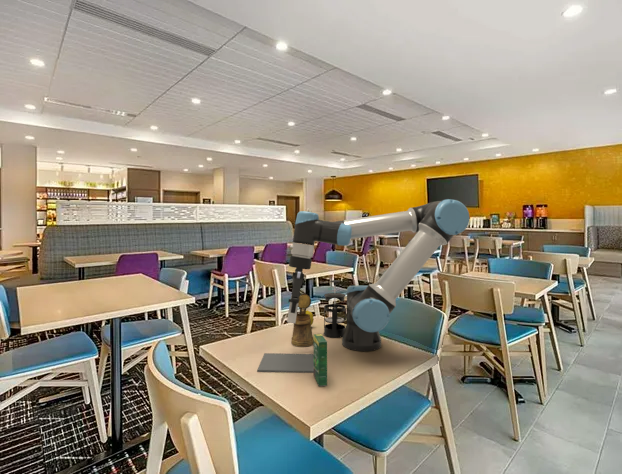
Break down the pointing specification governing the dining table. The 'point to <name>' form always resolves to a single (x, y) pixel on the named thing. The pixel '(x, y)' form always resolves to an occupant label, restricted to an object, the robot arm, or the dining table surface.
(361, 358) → the dining table surface
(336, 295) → the french press
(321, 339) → the coffee box
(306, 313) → the lemon
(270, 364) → the mat
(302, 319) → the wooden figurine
